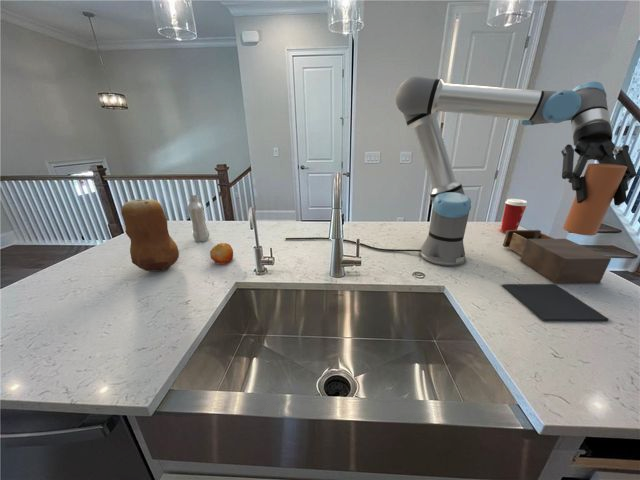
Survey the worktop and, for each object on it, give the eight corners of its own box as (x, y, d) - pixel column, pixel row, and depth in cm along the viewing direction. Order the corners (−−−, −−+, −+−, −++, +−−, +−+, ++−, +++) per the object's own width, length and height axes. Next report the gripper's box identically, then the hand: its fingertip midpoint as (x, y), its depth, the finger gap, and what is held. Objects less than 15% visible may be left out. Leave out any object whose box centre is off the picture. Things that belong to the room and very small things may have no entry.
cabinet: (519, 260, 95) (526, 238, 91) (557, 260, 94) (565, 238, 91) (555, 283, 80) (565, 258, 77) (599, 283, 80) (611, 258, 77)
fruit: (242, 253, 99) (232, 241, 93) (231, 271, 95) (219, 259, 89) (226, 250, 102) (215, 237, 96) (214, 266, 98) (202, 255, 92)
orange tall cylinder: (570, 233, 71) (598, 167, 64) (558, 225, 77) (582, 163, 70) (602, 236, 69) (635, 168, 62) (587, 227, 75) (615, 163, 68)
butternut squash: (174, 256, 101) (158, 192, 91) (186, 268, 92) (170, 199, 82) (132, 268, 92) (109, 199, 82) (141, 283, 83) (117, 207, 73)
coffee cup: (522, 235, 117) (532, 203, 111) (502, 234, 118) (511, 202, 113) (513, 229, 124) (522, 198, 119) (494, 228, 126) (502, 197, 120)
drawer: (496, 241, 108) (500, 226, 106) (525, 241, 108) (530, 226, 106) (528, 262, 91) (534, 244, 89) (564, 262, 91) (571, 244, 88)
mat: (543, 321, 65) (543, 319, 64) (502, 285, 79) (502, 284, 79) (607, 320, 64) (608, 319, 64) (554, 285, 79) (555, 284, 79)
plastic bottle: (213, 239, 117) (205, 195, 109) (199, 244, 112) (190, 198, 104) (204, 236, 120) (196, 193, 112) (191, 241, 115) (181, 196, 107)
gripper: (625, 140, 74) (639, 211, 67) (541, 140, 80) (546, 205, 73) (649, 119, 67) (667, 196, 60) (556, 121, 73) (562, 191, 66)
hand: (601, 201), depth 66 cm, fingers closed on orange tall cylinder, 7 cm apart
